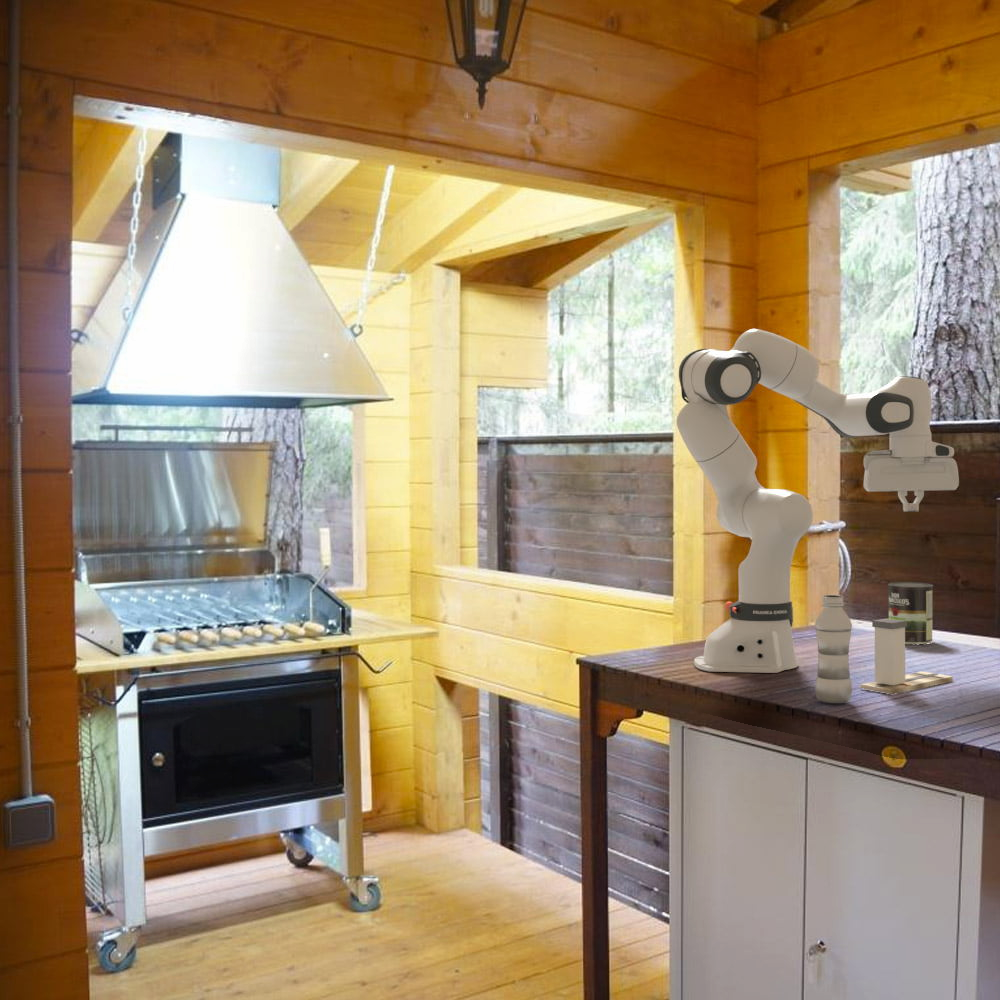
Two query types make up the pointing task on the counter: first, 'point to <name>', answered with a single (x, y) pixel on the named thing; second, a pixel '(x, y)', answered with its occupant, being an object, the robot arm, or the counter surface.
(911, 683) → the board
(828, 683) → the plastic bottle
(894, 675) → the slider handle
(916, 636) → the coffee can
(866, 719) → the counter surface
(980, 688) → the counter surface
